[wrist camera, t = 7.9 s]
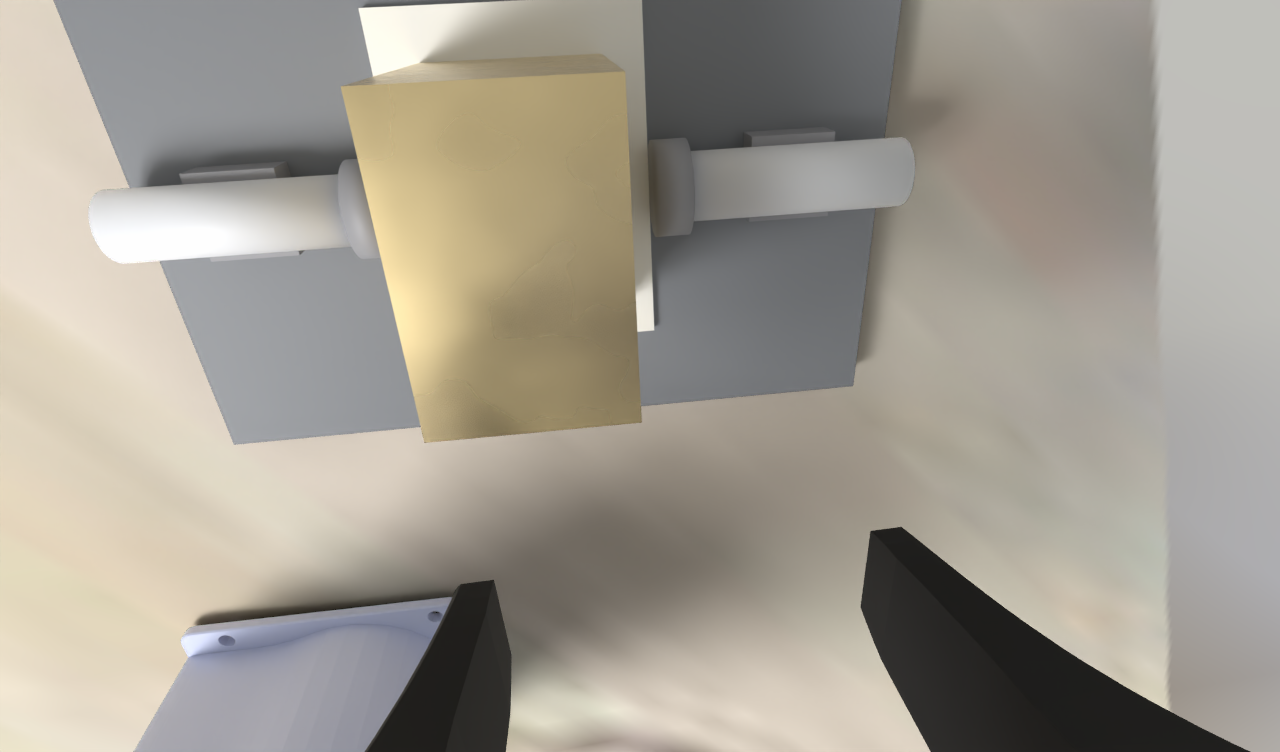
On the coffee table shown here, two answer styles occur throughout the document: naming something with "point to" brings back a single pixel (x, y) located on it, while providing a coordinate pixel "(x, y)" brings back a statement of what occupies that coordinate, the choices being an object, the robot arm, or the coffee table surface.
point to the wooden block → (505, 239)
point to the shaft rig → (475, 30)
